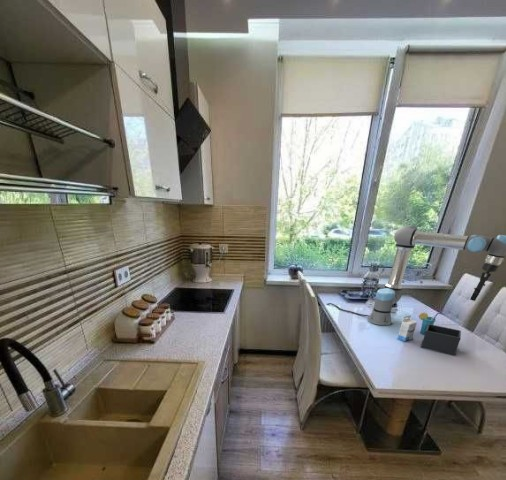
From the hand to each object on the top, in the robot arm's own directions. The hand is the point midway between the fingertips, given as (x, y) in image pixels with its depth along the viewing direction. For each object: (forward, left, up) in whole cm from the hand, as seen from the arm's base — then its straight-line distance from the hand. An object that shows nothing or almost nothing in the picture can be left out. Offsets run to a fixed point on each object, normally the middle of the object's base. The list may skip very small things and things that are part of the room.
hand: (473, 297), depth 170 cm
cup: (-19, -11, -26) cm, 34 cm away
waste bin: (-11, -30, -25) cm, 41 cm away
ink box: (-29, -29, -26) cm, 48 cm away
